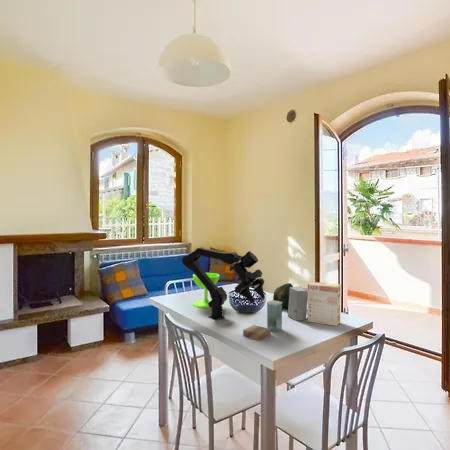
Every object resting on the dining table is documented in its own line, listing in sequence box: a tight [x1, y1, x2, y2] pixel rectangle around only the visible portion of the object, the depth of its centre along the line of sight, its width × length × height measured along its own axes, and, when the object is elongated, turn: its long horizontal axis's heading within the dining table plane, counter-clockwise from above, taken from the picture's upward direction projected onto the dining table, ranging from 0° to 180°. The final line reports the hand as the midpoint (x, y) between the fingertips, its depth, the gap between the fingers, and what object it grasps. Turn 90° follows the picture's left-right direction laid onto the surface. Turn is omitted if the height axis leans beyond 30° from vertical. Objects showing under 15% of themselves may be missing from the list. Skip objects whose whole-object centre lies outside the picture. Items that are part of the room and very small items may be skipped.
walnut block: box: [242, 324, 272, 341], centre depth 149 cm, size 9×9×3 cm
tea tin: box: [266, 299, 283, 333], centre depth 157 cm, size 5×5×13 cm
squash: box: [272, 282, 294, 309], centre depth 195 cm, size 14×15×15 cm
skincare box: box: [287, 286, 308, 322], centre depth 174 cm, size 8×7×16 cm
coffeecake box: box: [307, 281, 342, 327], centre depth 168 cm, size 15×7×20 cm, turn 58°
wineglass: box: [192, 272, 220, 309], centre depth 199 cm, size 16×16×18 cm
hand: (259, 300), depth 161 cm, fingers open, 9 cm apart
